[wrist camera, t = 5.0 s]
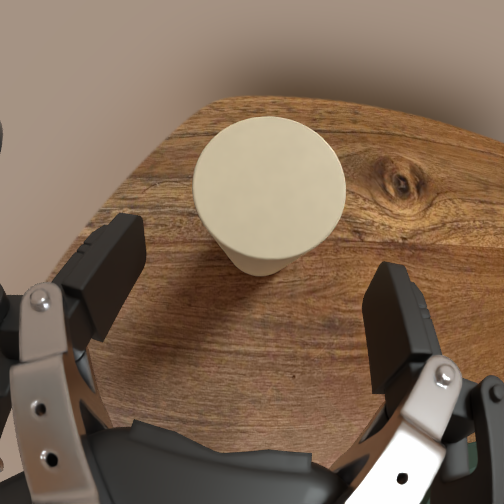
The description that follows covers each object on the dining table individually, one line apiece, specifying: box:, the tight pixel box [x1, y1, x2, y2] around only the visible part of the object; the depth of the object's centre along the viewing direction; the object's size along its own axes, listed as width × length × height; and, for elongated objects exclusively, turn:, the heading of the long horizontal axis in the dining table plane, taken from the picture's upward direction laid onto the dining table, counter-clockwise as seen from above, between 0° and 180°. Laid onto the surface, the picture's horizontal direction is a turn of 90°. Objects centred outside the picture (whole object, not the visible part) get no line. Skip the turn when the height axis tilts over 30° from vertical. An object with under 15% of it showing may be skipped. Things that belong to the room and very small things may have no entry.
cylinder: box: [192, 117, 346, 276], centre depth 12 cm, size 4×4×10 cm
